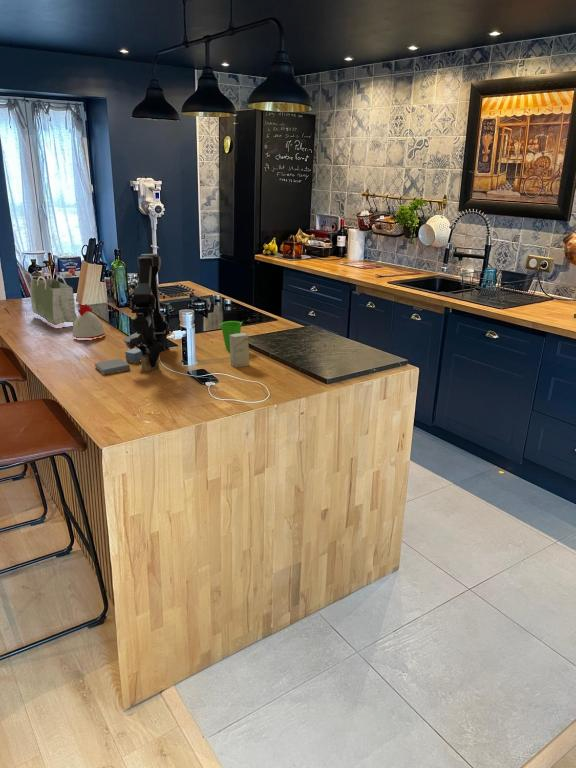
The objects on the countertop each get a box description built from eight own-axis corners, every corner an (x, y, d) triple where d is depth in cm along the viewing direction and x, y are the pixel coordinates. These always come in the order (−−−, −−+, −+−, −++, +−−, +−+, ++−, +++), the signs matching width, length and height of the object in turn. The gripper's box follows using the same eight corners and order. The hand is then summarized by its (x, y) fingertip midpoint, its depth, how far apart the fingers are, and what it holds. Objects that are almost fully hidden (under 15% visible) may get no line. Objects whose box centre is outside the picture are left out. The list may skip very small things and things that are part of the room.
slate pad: (120, 363, 228) (120, 358, 228) (129, 369, 221) (129, 364, 220) (95, 368, 223) (94, 363, 222) (103, 375, 215) (103, 369, 215)
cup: (247, 347, 245) (246, 322, 241) (236, 353, 238) (235, 327, 234) (228, 345, 249) (227, 320, 245) (217, 351, 241) (215, 325, 237)
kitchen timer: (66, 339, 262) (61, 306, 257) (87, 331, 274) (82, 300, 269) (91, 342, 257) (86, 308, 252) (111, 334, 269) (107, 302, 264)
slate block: (135, 358, 235) (134, 348, 233) (144, 359, 232) (143, 350, 231) (126, 361, 231) (125, 351, 229) (135, 363, 228) (134, 353, 227)
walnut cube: (154, 365, 225) (152, 352, 224) (159, 368, 221) (158, 355, 220) (141, 367, 223) (140, 355, 221) (146, 371, 219) (145, 358, 217)
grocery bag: (83, 324, 288) (76, 277, 279) (55, 329, 279) (47, 281, 271) (59, 313, 310) (52, 269, 302) (32, 318, 302) (24, 273, 294)
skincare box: (234, 368, 220) (233, 337, 216) (230, 364, 224) (228, 334, 220) (249, 365, 223) (248, 334, 219) (245, 362, 227) (243, 332, 222)
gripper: (116, 324, 219) (121, 363, 225) (134, 334, 205) (139, 376, 210) (144, 319, 225) (148, 358, 230) (163, 329, 211) (167, 370, 216)
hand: (150, 365), depth 222 cm, fingers closed on walnut cube, 5 cm apart
